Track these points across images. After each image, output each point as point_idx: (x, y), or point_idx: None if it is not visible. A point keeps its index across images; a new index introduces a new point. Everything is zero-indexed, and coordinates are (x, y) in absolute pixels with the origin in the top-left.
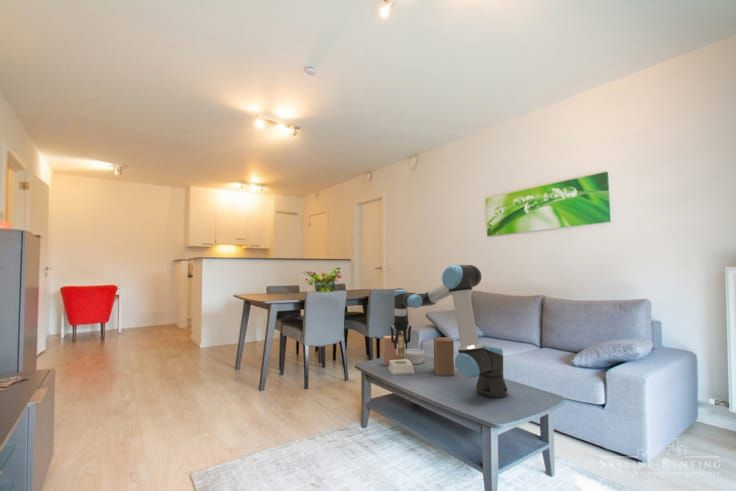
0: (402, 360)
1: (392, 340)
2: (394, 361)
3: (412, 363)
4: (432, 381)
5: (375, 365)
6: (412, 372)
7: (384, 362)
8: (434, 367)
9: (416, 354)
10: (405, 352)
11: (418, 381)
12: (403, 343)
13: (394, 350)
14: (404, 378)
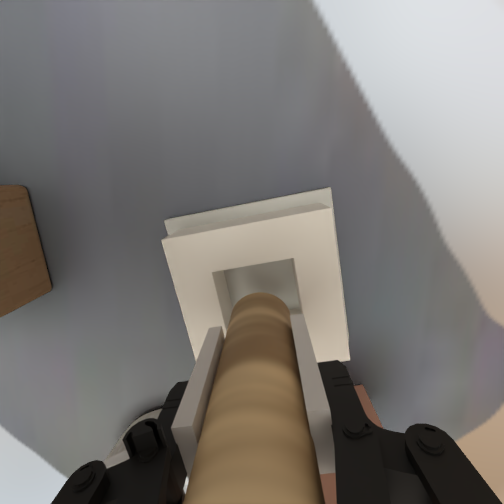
0: None
1: (461, 472)
2: (311, 323)
3: None
4: (44, 49)
5: (420, 379)
6: (183, 216)
7: (367, 397)
8: (28, 277)
9: None
10: (205, 340)
11: (141, 40)
12: (205, 427)
13: None
14: (241, 108)
